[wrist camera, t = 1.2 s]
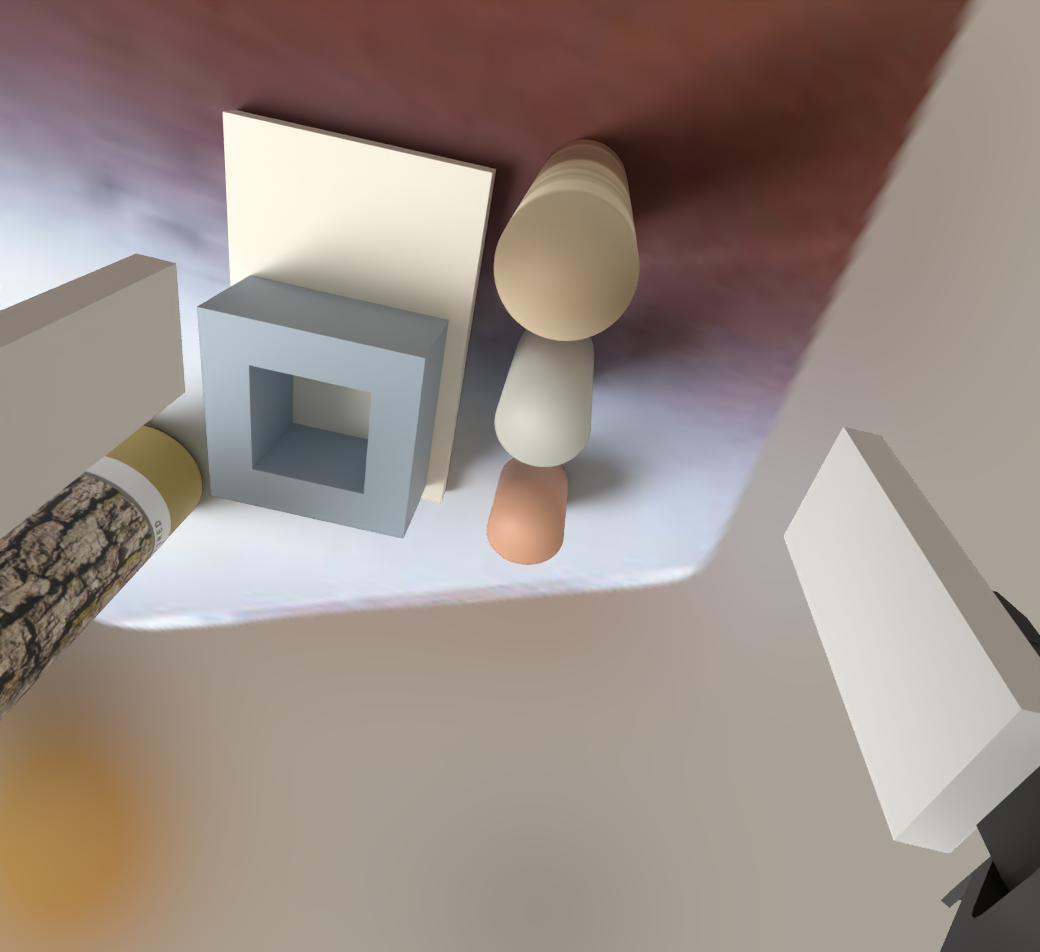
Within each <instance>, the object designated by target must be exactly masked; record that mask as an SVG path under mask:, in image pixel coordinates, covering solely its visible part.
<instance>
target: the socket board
mask: <svg viewBox="0 0 1040 952" xmlns="http://www.w3.org/2000/svg"><path fill="white" fill-rule="evenodd" d="M223 127H224V149H225V171H226V194H227V216H228V238H229V261H230V283H231V287H229V288H228V289H226V290H224V291H223V292H221V293H219V294H218V295H216V296H214V297H213V298H211V299H209V300H208V301H206V302H204V303H203V304H201V305H199V306H198V307H197V313H198V327H199V341H200V354H201V368H202V381H203V395H204V409H205V422H206V436H207V449H208V463H209V477H210V490H211V496H215V497H219V498H224V499H228V500H233V501H237V502H242V503H246V504H251V505H255V506H260V507H264V508H268V509H273V510H277V511H282V512H286V513H291V514H295V515H300V516H304V517H309V518H313V519H318V520H322V521H327V522H331V523H336V524H340V525H345V526H349V527H354V528H358V529H363V530H367V531H371V532H376V533H380V534H385V535H389V536H394V537H398V538H404V536H405V533H406V531H407V529H408V526H409V524H410V522H411V519H412V517H413V515H414V512H415V510H416V508H417V506H418V503H419V501H420V499H422V500H427V501H431V502H436V503H440V504H441V502H442V499H443V497H444V494H445V490H446V484H447V477H448V471H449V465H450V458H451V452H452V446H453V439H454V433H455V427H456V420H457V414H458V408H459V401H460V395H461V389H462V382H463V376H464V370H465V364H466V357H467V351H468V345H469V338H470V332H471V326H472V319H473V313H474V307H475V300H476V294H477V288H478V281H479V275H480V269H481V262H482V256H483V250H484V243H485V237H486V231H487V224H488V218H489V212H490V205H491V199H492V193H493V186H494V180H495V174H496V169H494V168H489V167H485V166H480V165H476V164H472V163H467V162H463V161H458V160H454V159H450V158H445V157H441V156H436V155H432V154H428V153H423V152H419V151H414V150H410V149H406V148H401V147H397V146H392V145H388V144H384V143H379V142H375V141H370V140H366V139H362V138H357V137H353V136H348V135H344V134H340V133H335V132H331V131H326V130H322V129H318V128H313V127H309V126H304V125H300V124H295V123H291V122H287V121H282V120H278V119H273V118H269V117H265V116H260V115H256V114H251V113H247V112H243V111H238V110H232V111H224V112H223Z"/></svg>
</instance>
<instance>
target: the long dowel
mask: <svg viewBox="0 0 1040 952" xmlns="http://www.w3.org/2000/svg"><path fill="white" fill-rule="evenodd" d="M494 277H495V284H496V287H497V291H498V294H499V296H500V298H501V301H502V303H503V304H504V306H505V308H506V309H507V311H508V312H509V313H510V315H511V316H512V317H513V318H514V319H515V320H516V321H517V322H518V323H519V324H520V325H522V326H523V327H524V328H526V329H527V330H529V331H531V332H532V333H534V334H537V335H539V336H541V337H544V338H548V339H552V340H558V341H574V340H580V339H585V338H588V337H591V336H594V335H596V334H598V333H600V332H602V331H604V330H605V329H607V328H608V327H610V326H611V325H612V324H613V323H614V322H616V321H617V320H618V319H619V317H620V316H621V315H622V314H623V313H624V312H625V310H626V309H627V307H628V306H629V304H630V302H631V300H632V298H633V296H634V293H635V290H636V288H637V283H638V279H639V255H638V248H637V242H636V235H635V228H634V221H633V215H632V208H631V201H630V194H629V188H628V181H627V175H626V171H625V168H624V166H623V164H622V162H621V160H620V158H619V157H618V156H617V154H616V153H615V152H614V151H613V150H612V149H610V148H609V147H608V146H606V145H605V144H602V143H600V142H598V141H594V140H588V139H581V140H575V141H571V142H569V143H566V144H564V145H563V146H561V147H559V148H558V149H557V150H556V151H555V152H554V153H553V154H552V155H551V156H550V157H549V158H548V160H547V161H546V163H545V164H544V166H543V168H542V169H541V171H540V173H539V174H538V176H537V177H536V179H535V181H534V182H533V184H532V185H531V187H530V189H529V190H528V192H527V194H526V195H525V197H524V198H523V200H522V202H521V203H520V205H519V207H518V208H517V210H516V211H515V213H514V215H513V216H512V218H511V220H510V221H509V223H508V224H507V226H506V228H505V229H504V231H503V233H502V235H501V237H500V239H499V242H498V245H497V248H496V252H495V258H494Z"/></svg>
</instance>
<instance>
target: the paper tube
mask: <svg viewBox="0 0 1040 952" xmlns="http://www.w3.org/2000/svg"><path fill="white" fill-rule="evenodd" d="M201 495H202V479H201V474H200V471H199V468H198V466H197V464H196V462H195V460H194V459H193V457H192V456H191V455H190V453H189V452H188V451H187V450H186V449H185V448H184V447H183V446H182V445H181V444H180V443H179V442H178V441H176V440H175V439H174V438H172V437H171V436H169V435H167V434H166V433H164V432H162V431H160V430H157V429H155V428H152V427H148V426H144V425H143V426H142V427H141V428H139V429H138V430H137V431H136V432H134V433H133V434H132V435H130V436H129V437H128V438H127V439H125V440H124V441H123V442H122V443H120V444H119V445H118V446H117V447H115V448H114V449H113V450H112V451H110V452H109V453H108V454H107V455H105V456H104V457H103V458H102V459H100V460H99V461H98V462H97V463H95V464H94V465H93V466H92V467H90V468H89V469H88V470H87V471H85V472H84V473H83V474H82V475H80V476H79V477H78V478H76V479H75V480H74V481H73V482H71V483H70V484H69V485H68V486H66V487H65V488H64V489H63V490H61V491H60V492H59V493H58V494H56V495H55V496H54V497H53V498H51V499H50V500H49V501H48V502H46V503H45V504H44V505H43V506H41V507H40V508H39V509H38V510H36V511H35V512H34V513H33V514H31V515H30V516H29V517H28V518H26V519H25V520H24V521H22V522H21V523H20V524H19V525H17V526H16V527H15V528H14V529H12V530H11V531H10V532H9V533H7V534H6V535H5V536H4V537H2V538H1V539H0V720H1V719H2V718H3V717H4V716H5V715H6V713H7V712H8V711H9V710H10V709H11V708H12V707H13V706H14V705H15V703H17V702H18V700H19V699H20V698H21V697H22V696H23V695H24V694H25V693H26V692H27V691H28V690H29V689H30V687H31V686H32V685H33V684H34V683H35V682H36V681H37V680H38V679H39V678H40V677H41V676H42V674H43V673H44V672H45V671H46V670H47V669H48V668H49V667H50V666H51V665H52V664H53V662H54V661H55V660H56V659H57V658H58V657H59V656H60V655H61V654H62V653H63V652H64V650H65V649H66V648H67V647H68V646H69V645H70V644H71V643H72V642H73V641H74V640H75V639H76V637H77V636H78V635H79V634H80V633H81V632H82V631H83V630H84V629H85V628H86V627H87V626H88V624H89V623H90V622H91V621H92V620H93V619H94V618H95V617H96V616H97V615H98V614H99V613H100V611H101V610H102V609H103V608H104V607H105V606H106V605H107V604H108V603H109V602H110V601H111V600H112V598H113V597H114V596H115V595H116V594H117V593H118V592H119V591H120V590H121V589H122V588H123V587H124V585H125V584H126V583H127V582H128V581H129V580H130V579H131V578H132V577H133V576H134V575H135V573H136V572H137V571H138V570H139V569H140V568H141V567H142V566H143V565H144V564H145V563H146V562H147V560H148V559H149V558H150V557H151V556H152V555H153V554H154V553H155V552H156V551H157V550H158V549H159V547H160V546H161V545H162V544H163V543H164V542H165V541H166V539H167V538H168V537H169V536H170V535H171V534H172V533H173V532H174V531H175V529H176V528H177V527H178V526H179V525H180V524H181V523H182V522H183V521H184V520H185V519H186V518H187V516H188V515H189V514H190V513H191V512H192V511H193V510H194V509H195V507H196V506H197V504H198V503H199V501H200V498H201Z"/></svg>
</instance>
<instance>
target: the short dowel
mask: <svg viewBox="0 0 1040 952" xmlns="http://www.w3.org/2000/svg"><path fill="white" fill-rule="evenodd" d="M567 495H568V477H567V474H566V472H565V470H564V469H563V467H562V466H561V465H557V466H552V467H538V466H532V465H529V464H526V463H523V462H521V461H519V460H517V459H516V458H512V459H511V460H510V461H508V462H507V463H506V464H505V466H504V467H503V469H502V471H501V474H500V478H499V482H498V486H497V490H496V494H495V497H494V501H493V505H492V509H491V513H490V517H489V520H488V524H487V538H488V541H489V543H490V545H491V546H492V548H493V549H494V550H495V551H496V552H497V553H498V554H499V555H500V556H502V557H503V558H505V559H507V560H509V561H511V562H514V563H518V564H525V565H531V564H538V563H542V562H544V561H547V560H549V559H550V558H552V557H553V556H554V555H555V554H556V553H557V552H558V551H559V549H560V548H561V546H562V543H563V537H564V527H565V516H566V505H567Z"/></svg>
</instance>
